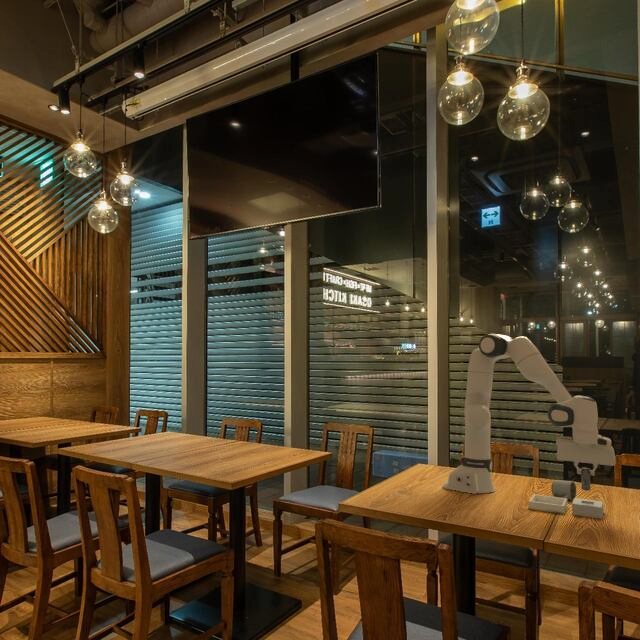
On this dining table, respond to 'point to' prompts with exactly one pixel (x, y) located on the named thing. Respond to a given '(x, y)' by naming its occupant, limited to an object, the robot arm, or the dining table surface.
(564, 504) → the tray
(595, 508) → the grey square socket block
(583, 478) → the pin
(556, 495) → the ceramic mug
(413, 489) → the dining table surface
